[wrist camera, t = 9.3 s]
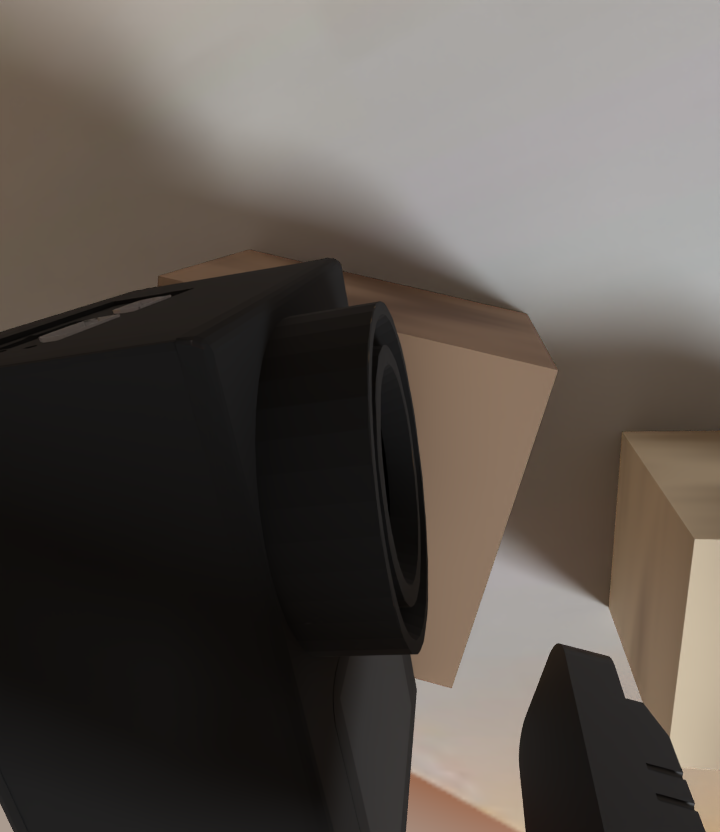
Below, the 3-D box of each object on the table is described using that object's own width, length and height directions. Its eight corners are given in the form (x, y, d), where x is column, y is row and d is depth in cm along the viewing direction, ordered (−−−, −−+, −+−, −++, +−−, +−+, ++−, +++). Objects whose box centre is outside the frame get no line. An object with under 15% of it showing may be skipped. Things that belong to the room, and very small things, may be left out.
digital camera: (468, 692, 15) (478, 1089, 8) (251, 699, 16) (109, 1055, 9) (402, 243, 12) (335, 316, 5) (135, 288, 13) (-208, 396, 6)
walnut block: (526, 312, 17) (558, 370, 12) (453, 551, 20) (451, 688, 15) (251, 248, 18) (158, 276, 12) (218, 490, 21) (130, 600, 15)
